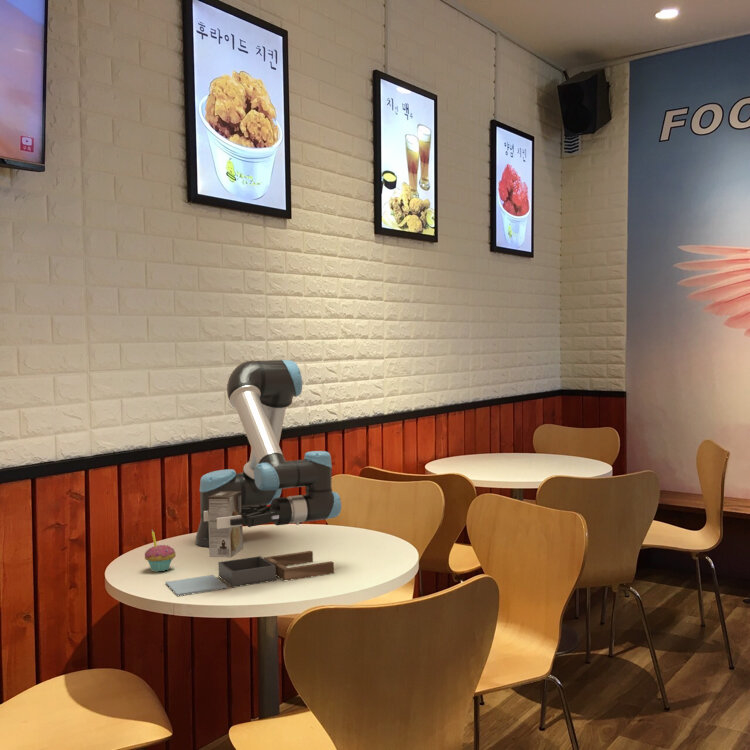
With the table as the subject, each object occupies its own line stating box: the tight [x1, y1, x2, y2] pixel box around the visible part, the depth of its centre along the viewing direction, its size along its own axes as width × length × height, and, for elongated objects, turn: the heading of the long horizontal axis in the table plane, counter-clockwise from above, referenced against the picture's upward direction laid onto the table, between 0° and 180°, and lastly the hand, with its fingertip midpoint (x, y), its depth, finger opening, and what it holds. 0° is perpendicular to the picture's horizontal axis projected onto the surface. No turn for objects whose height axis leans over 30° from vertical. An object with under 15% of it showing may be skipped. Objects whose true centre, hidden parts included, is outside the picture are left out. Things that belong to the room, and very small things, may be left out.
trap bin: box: [217, 556, 277, 588], centre depth 217 cm, size 12×12×4 cm
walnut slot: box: [263, 550, 335, 581], centre depth 224 cm, size 16×15×3 cm
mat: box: [165, 574, 228, 597], centre depth 210 cm, size 13×13×1 cm
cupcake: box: [144, 529, 176, 572], centre depth 227 cm, size 9×8×12 cm
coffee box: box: [208, 491, 244, 559], centre depth 211 cm, size 9×6×16 cm
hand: (210, 519), depth 209 cm, fingers closed on coffee box, 10 cm apart
